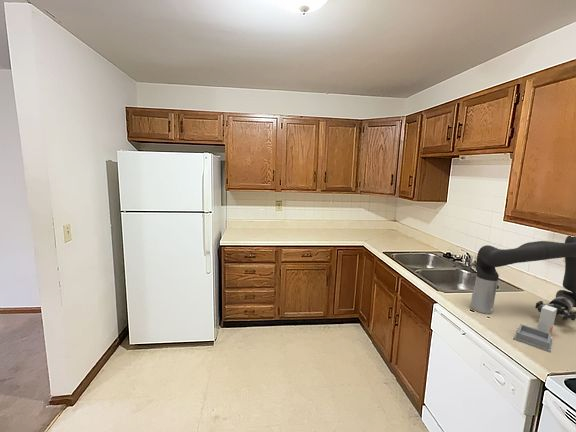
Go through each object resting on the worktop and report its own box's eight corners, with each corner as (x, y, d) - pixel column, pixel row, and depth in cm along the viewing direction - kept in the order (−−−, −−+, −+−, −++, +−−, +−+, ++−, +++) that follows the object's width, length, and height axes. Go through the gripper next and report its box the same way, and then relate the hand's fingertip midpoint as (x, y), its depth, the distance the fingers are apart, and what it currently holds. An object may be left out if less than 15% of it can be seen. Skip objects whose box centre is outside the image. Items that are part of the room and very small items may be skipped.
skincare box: (548, 337, 131) (553, 311, 129) (535, 332, 134) (541, 307, 132) (552, 333, 135) (557, 308, 133) (540, 328, 138) (545, 304, 136)
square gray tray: (513, 339, 128) (514, 332, 127) (517, 329, 136) (518, 322, 136) (550, 352, 120) (552, 344, 119) (552, 340, 128) (553, 333, 128)
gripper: (544, 293, 152) (533, 300, 142) (582, 304, 141) (574, 313, 131) (541, 307, 153) (530, 315, 144) (578, 319, 142) (570, 328, 132)
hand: (551, 314), depth 137 cm, fingers open, 8 cm apart
